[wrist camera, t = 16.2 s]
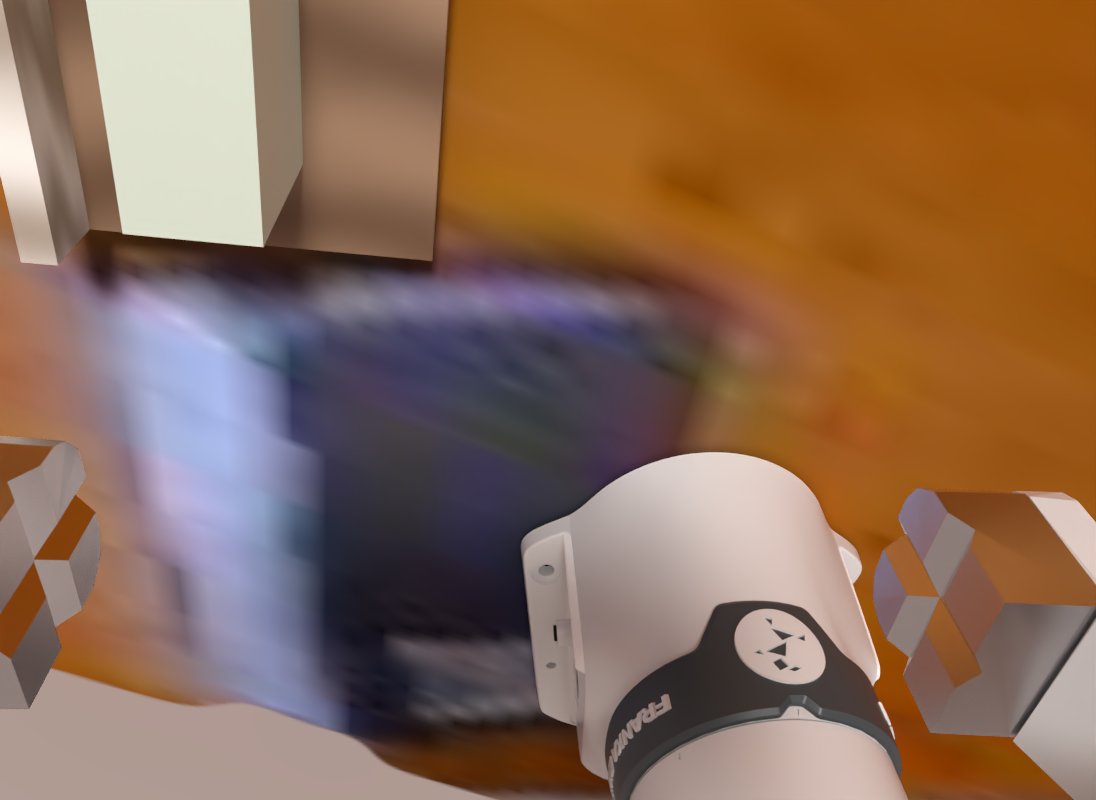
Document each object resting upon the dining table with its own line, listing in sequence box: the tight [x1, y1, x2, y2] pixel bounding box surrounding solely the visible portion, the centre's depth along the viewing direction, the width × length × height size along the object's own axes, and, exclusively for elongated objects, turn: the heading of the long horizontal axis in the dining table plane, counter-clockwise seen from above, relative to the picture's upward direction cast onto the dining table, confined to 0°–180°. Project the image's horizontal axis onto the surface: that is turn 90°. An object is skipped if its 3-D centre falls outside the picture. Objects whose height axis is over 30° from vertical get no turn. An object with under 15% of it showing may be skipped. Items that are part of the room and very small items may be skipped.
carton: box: [86, 0, 303, 247], centre depth 26 cm, size 4×8×7 cm, turn 172°
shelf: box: [0, 0, 449, 265], centre depth 28 cm, size 15×14×5 cm
